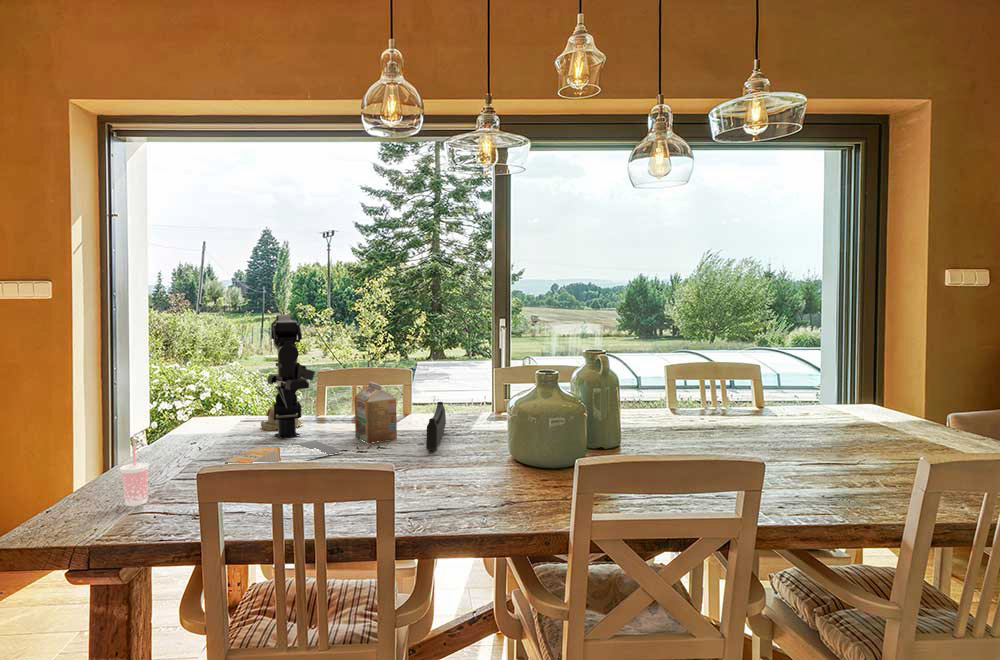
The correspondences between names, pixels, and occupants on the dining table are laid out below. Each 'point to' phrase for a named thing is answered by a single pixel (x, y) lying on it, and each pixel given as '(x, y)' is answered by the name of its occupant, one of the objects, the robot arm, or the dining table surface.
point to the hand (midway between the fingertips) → (288, 408)
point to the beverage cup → (135, 482)
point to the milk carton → (375, 414)
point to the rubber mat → (319, 447)
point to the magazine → (436, 427)
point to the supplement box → (257, 456)
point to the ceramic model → (272, 423)
